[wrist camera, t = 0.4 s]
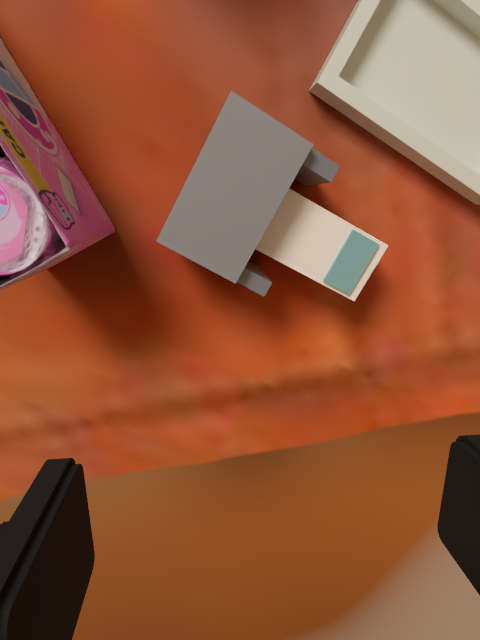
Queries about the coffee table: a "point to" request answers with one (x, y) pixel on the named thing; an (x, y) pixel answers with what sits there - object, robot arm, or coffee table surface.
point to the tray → (413, 83)
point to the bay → (240, 191)
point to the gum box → (39, 186)
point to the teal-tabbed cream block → (321, 245)
